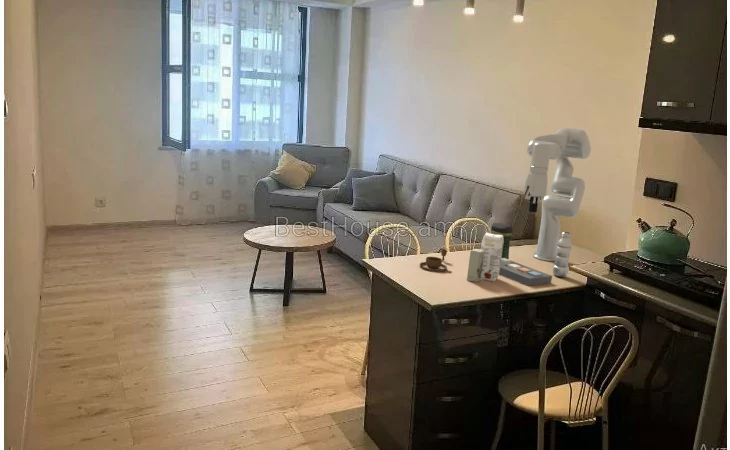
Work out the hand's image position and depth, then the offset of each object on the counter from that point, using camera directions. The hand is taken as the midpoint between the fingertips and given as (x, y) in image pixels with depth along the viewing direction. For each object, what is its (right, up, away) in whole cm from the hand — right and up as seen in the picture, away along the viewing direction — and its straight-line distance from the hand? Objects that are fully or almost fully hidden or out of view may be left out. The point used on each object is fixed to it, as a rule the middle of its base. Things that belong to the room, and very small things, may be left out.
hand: (532, 211), depth 283 cm
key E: (-3, -28, -13) cm, 31 cm away
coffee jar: (-13, -24, +15) cm, 31 cm away
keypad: (-8, -28, -5) cm, 30 cm away
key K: (-12, -23, +2) cm, 26 cm away
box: (-29, -29, -17) cm, 45 cm away
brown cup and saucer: (-42, -25, -2) cm, 49 cm away
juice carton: (-22, -29, -13) cm, 39 cm away
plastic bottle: (+12, -29, +1) cm, 31 cm away
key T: (-6, -27, -8) cm, 29 cm away
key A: (-9, -26, -3) cm, 27 cm away
